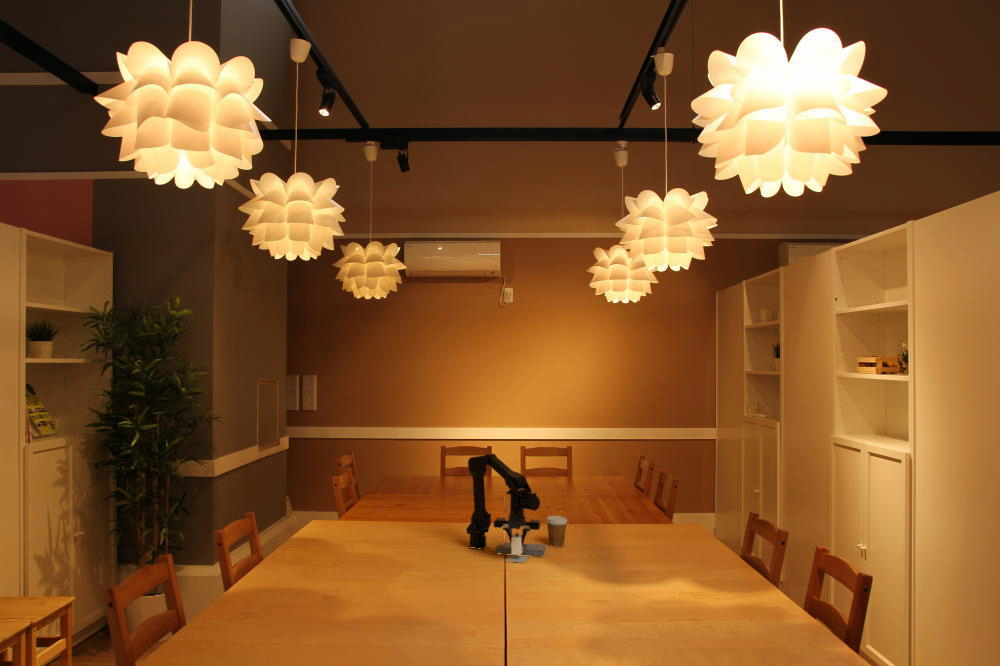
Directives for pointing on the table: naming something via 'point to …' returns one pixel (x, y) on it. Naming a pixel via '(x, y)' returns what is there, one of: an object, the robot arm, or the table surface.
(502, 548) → the grey flat block
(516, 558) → the grey square plate
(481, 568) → the table surface
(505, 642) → the table surface
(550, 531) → the disposable coffee cup
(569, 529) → the table surface
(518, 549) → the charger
